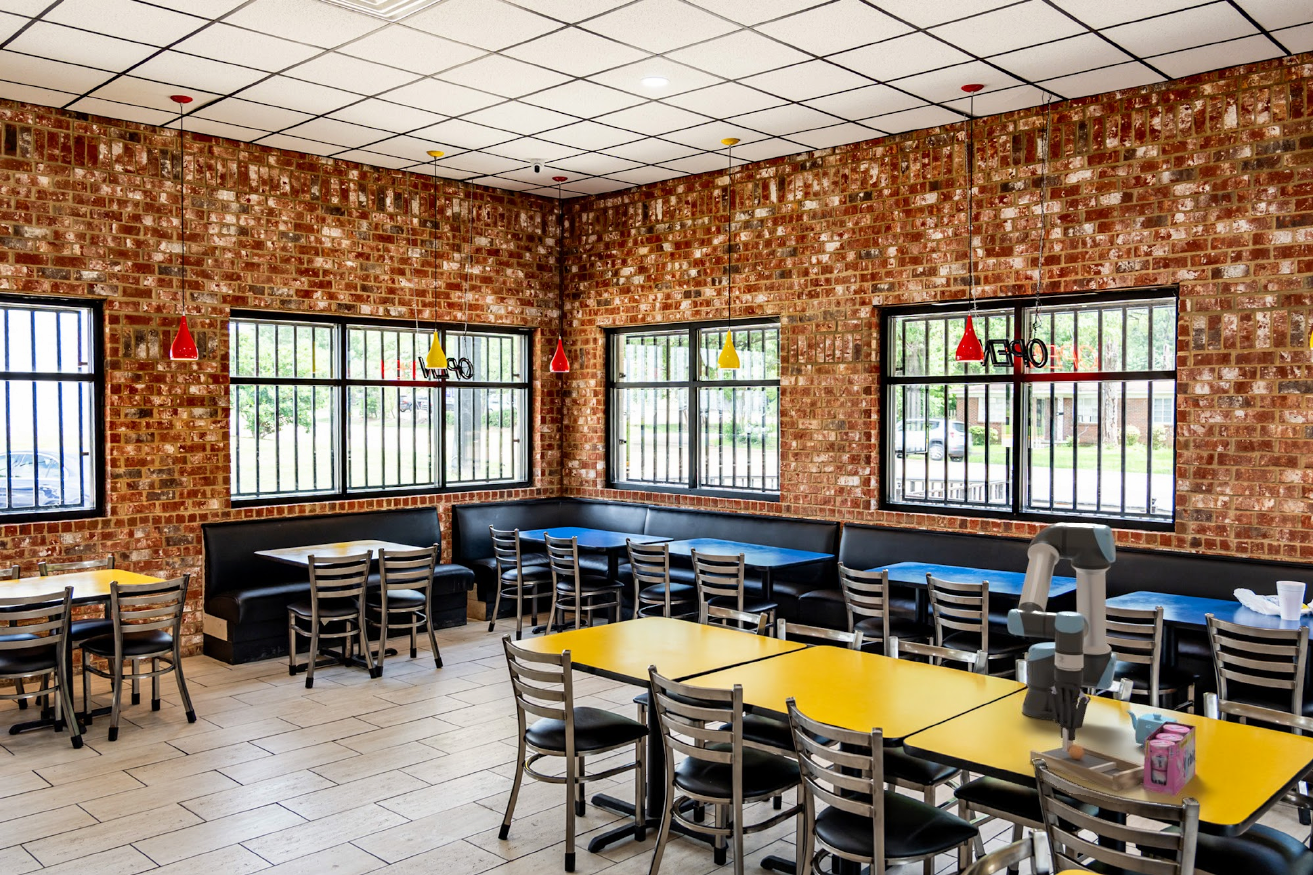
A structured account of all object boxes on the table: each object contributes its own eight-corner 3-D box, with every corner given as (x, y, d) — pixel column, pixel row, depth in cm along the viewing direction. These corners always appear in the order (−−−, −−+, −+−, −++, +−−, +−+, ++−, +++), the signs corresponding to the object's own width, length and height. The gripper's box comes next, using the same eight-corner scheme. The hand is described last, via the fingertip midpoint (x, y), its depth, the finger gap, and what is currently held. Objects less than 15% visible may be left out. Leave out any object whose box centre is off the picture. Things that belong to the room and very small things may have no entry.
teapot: (1196, 750, 300) (1196, 715, 300) (1178, 760, 291) (1178, 725, 291) (1134, 736, 314) (1134, 703, 314) (1114, 745, 304) (1114, 712, 304)
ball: (1082, 741, 287) (1089, 755, 285) (1073, 747, 289) (1080, 760, 287) (1072, 743, 285) (1079, 757, 283) (1063, 748, 288) (1070, 762, 286)
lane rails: (1068, 751, 298) (1068, 738, 298) (1154, 779, 275) (1155, 765, 275) (1030, 761, 290) (1030, 747, 290) (1116, 790, 266) (1116, 775, 266)
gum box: (1174, 799, 262) (1174, 746, 262) (1141, 792, 267) (1141, 740, 267) (1196, 774, 280) (1196, 725, 280) (1164, 768, 285) (1165, 720, 285)
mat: (1065, 752, 298) (1065, 746, 298) (1147, 779, 275) (1147, 772, 275) (1033, 760, 290) (1033, 754, 290) (1115, 788, 268) (1115, 781, 268)
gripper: (1040, 664, 292) (1039, 746, 292) (1079, 674, 281) (1078, 759, 281) (1058, 661, 296) (1057, 742, 296) (1097, 671, 284) (1096, 755, 285)
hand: (1067, 750), depth 288 cm, fingers closed
